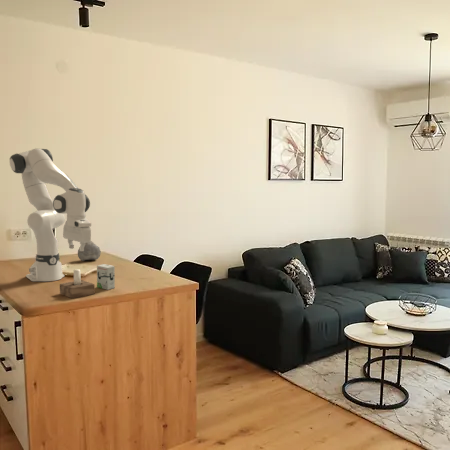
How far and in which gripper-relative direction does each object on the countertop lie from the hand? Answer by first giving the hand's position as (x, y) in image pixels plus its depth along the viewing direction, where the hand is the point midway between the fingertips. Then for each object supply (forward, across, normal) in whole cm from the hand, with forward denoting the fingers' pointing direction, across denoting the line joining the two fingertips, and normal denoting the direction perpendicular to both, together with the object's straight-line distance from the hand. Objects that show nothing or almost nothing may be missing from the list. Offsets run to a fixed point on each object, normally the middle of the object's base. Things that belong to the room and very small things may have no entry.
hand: (76, 249), depth 225 cm
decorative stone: (+23, -72, +50) cm, 90 cm away
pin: (+20, 0, 0) cm, 20 cm away
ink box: (+22, -1, +17) cm, 28 cm away
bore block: (+22, 0, 0) cm, 22 cm away
